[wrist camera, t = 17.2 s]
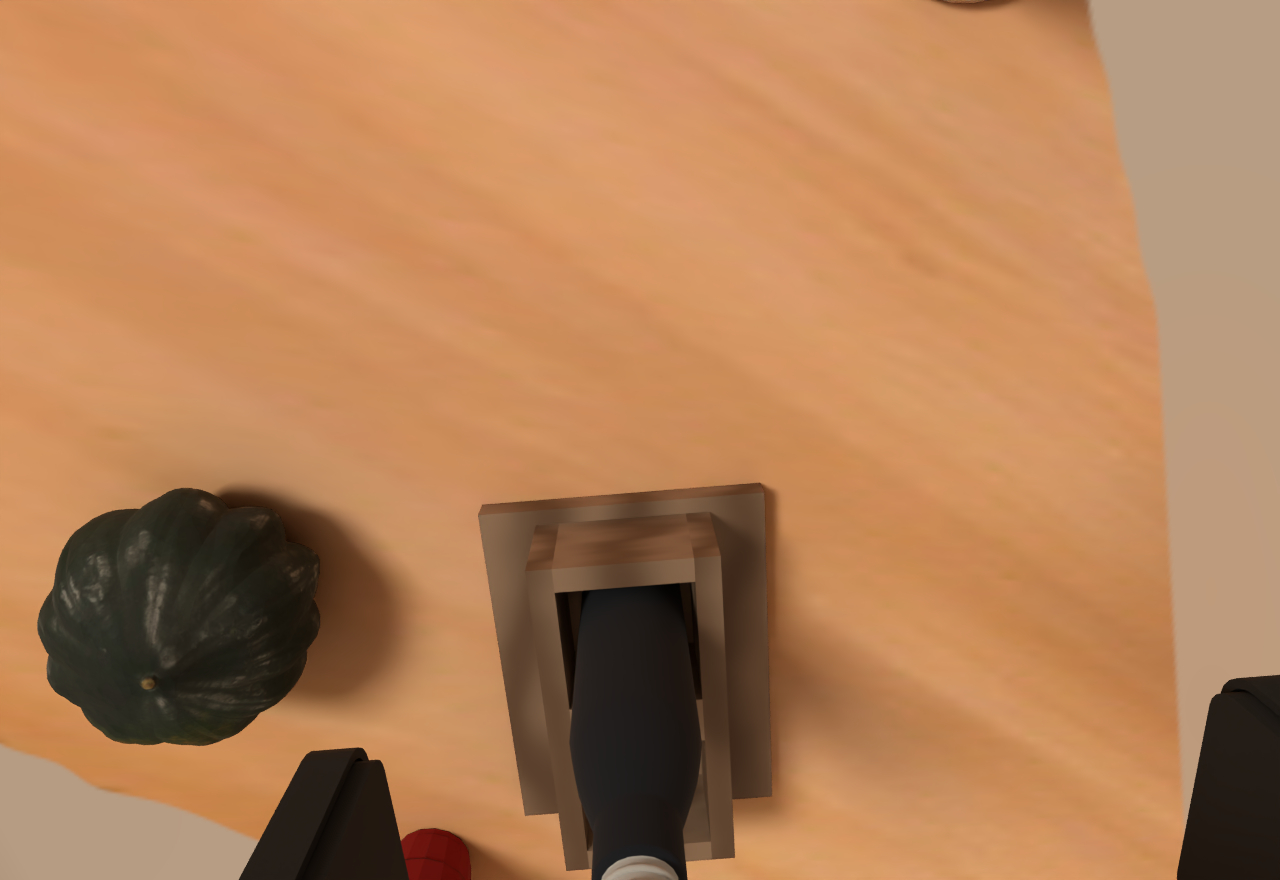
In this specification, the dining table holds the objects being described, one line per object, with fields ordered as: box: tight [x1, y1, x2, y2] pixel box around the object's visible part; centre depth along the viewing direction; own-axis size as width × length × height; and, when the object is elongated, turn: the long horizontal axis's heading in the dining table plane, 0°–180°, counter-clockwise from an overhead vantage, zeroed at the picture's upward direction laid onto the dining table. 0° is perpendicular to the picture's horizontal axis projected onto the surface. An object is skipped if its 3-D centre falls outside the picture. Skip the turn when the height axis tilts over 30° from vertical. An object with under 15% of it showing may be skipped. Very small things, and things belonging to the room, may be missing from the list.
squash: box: [37, 488, 320, 746], centre depth 47 cm, size 14×15×15 cm
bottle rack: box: [478, 483, 772, 871], centre depth 52 cm, size 18×24×8 cm
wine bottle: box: [569, 583, 702, 880], centre depth 38 cm, size 6×6×30 cm
